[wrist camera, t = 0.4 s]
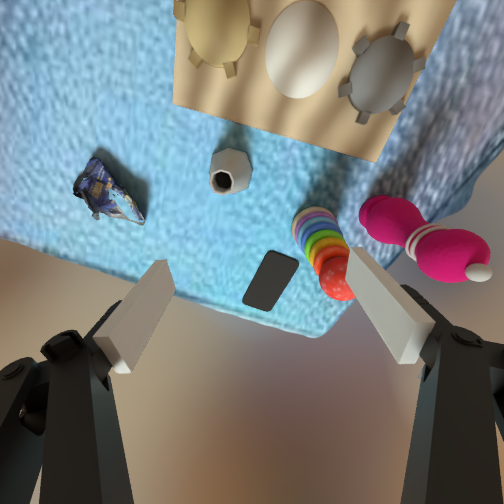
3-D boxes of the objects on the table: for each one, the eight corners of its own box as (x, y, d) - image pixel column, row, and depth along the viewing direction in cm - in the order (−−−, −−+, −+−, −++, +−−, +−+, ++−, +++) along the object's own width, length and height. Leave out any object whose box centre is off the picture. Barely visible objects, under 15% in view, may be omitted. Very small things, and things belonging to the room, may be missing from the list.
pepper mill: (358, 194, 35) (459, 247, 18) (402, 189, 35) (552, 238, 17) (353, 233, 39) (434, 309, 21) (393, 228, 38) (511, 304, 20)
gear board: (176, 105, 30) (169, 101, 27) (188, -100, 21) (179, -130, 19) (371, 161, 33) (380, 163, 30) (448, 1, 24) (469, -14, 22)
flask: (253, 192, 36) (252, 209, 27) (212, 194, 36) (198, 212, 27) (251, 146, 32) (249, 147, 23) (206, 148, 32) (186, 151, 24)
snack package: (106, 233, 40) (160, 221, 39) (77, 242, 34) (139, 228, 32) (77, 169, 37) (135, 152, 35) (39, 167, 31) (106, 147, 29)
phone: (301, 262, 42) (269, 313, 48) (300, 260, 42) (269, 310, 49) (268, 249, 40) (240, 303, 47) (268, 248, 41) (240, 300, 48)
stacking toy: (305, 197, 36) (347, 245, 19) (343, 217, 37) (411, 277, 21) (282, 234, 39) (301, 302, 23) (317, 251, 41) (359, 326, 24)
